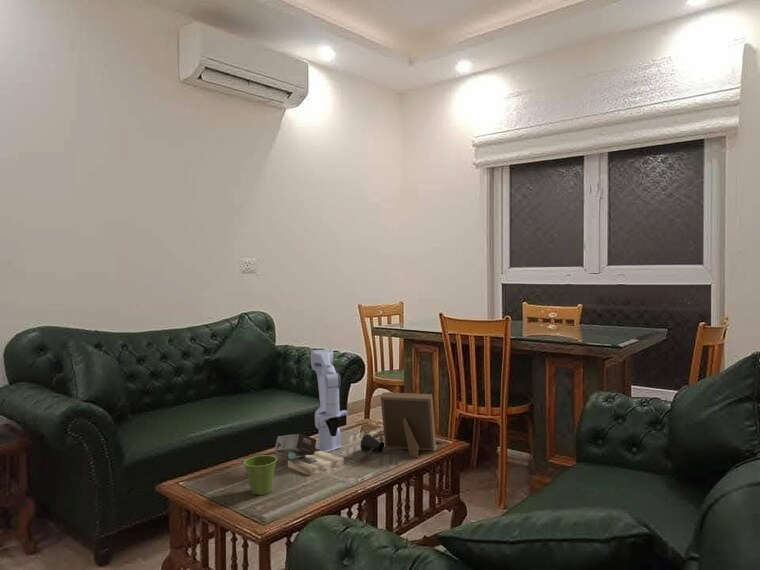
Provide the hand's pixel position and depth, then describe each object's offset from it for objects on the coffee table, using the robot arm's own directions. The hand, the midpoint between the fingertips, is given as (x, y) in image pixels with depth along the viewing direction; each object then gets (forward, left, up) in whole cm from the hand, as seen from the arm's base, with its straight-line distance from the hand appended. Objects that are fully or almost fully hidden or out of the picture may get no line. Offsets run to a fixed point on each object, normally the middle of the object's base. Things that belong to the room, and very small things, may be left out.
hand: (333, 435), depth 231 cm
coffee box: (+12, -19, -6) cm, 23 cm away
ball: (+12, -1, -8) cm, 14 cm away
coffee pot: (-14, +5, -11) cm, 18 cm away
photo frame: (-28, +16, -10) cm, 34 cm away
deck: (+9, 0, -10) cm, 14 cm away
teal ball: (+16, -8, -6) cm, 18 cm away
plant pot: (+39, +6, -10) cm, 41 cm away
